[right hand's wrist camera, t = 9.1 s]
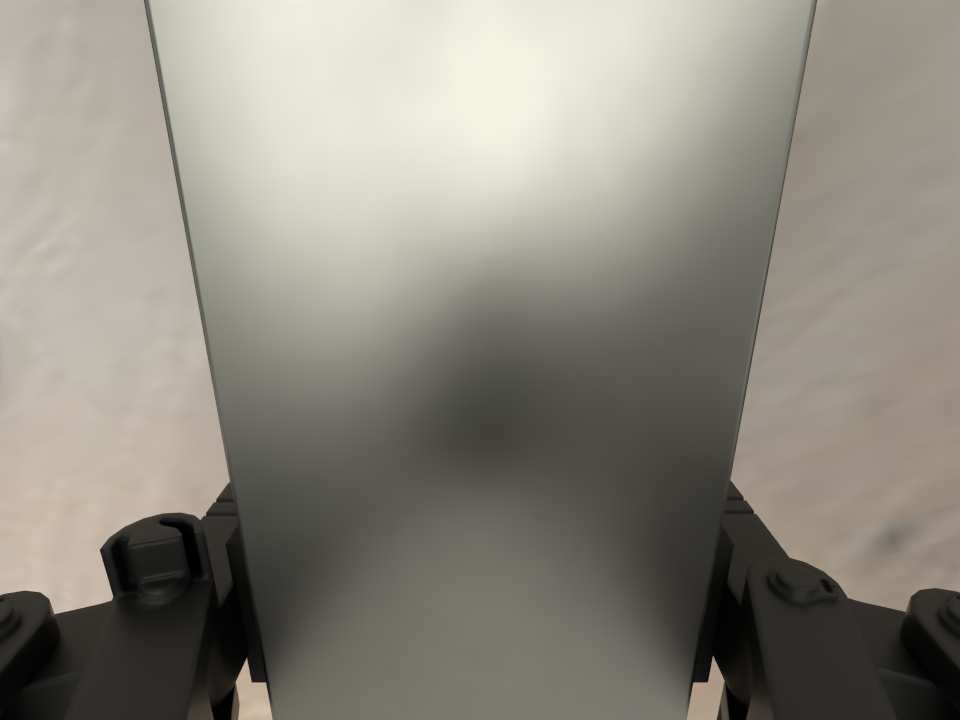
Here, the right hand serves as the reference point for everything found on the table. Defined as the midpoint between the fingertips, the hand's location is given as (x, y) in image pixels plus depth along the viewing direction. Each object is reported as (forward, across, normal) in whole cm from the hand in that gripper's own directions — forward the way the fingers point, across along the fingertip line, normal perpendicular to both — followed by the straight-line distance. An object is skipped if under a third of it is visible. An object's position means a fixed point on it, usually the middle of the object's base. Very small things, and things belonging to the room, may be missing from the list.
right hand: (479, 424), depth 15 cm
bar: (0, 0, -9) cm, 9 cm away
